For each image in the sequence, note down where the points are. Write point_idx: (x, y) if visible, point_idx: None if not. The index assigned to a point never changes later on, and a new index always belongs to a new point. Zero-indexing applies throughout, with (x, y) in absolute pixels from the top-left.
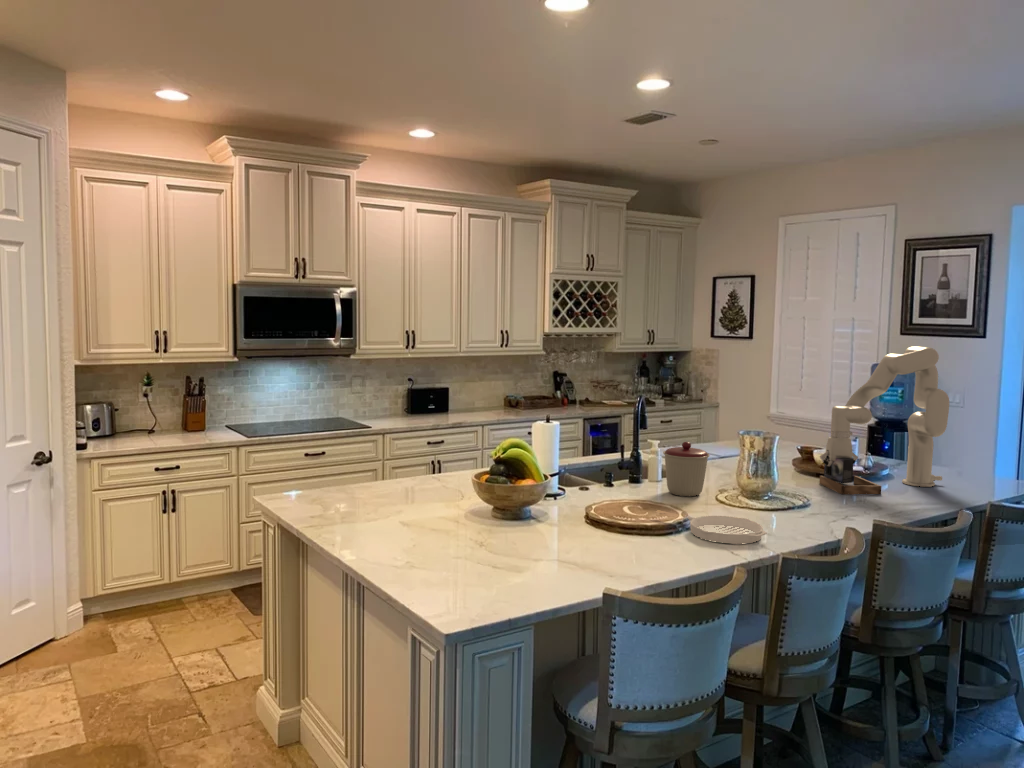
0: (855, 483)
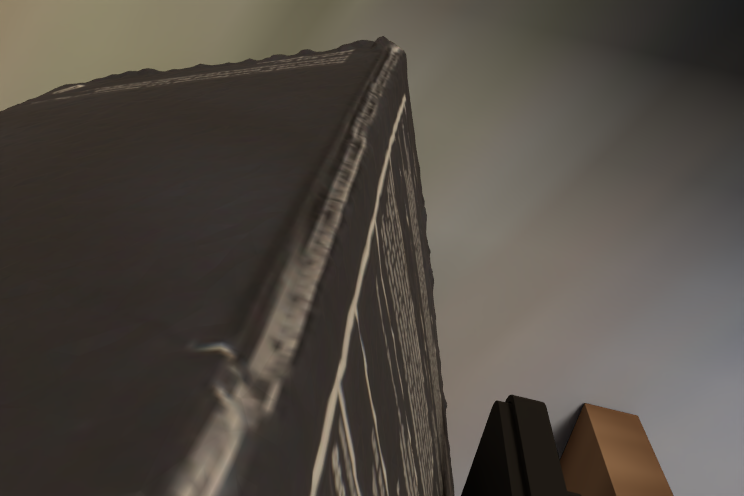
0: (565, 473)
